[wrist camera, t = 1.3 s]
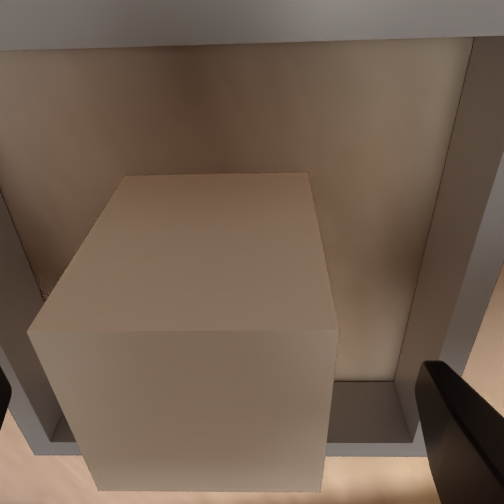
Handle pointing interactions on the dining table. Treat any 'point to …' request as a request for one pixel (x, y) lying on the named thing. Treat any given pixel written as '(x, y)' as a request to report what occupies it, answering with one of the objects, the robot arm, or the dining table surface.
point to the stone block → (197, 336)
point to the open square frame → (442, 226)
